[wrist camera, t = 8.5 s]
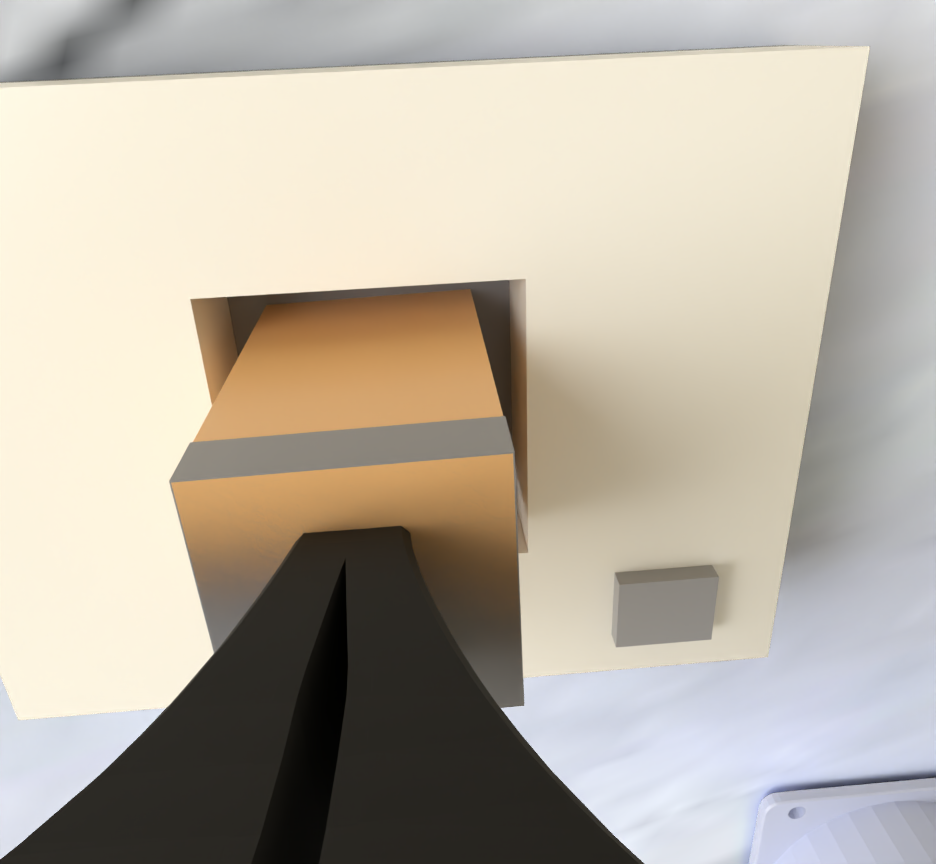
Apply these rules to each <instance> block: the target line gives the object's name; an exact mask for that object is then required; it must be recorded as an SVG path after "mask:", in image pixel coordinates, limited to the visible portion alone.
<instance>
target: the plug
mask: <svg viewBox="0 0 936 864" xmlns="http://www.w3.org/2000/svg"><path fill="white" fill-rule="evenodd" d="M169 483H170V487H171V491H172V495H173V499H174V503H175V506H176V510H177V514H178V518H179V522H180V525H181V529H182V533H183V537H184V541H185V545H186V548H187V552H188V556H189V560H190V564H191V567H192V571H193V575H194V579H195V583H196V587H197V590H198V594H199V598H200V602H201V606H202V609H203V613H204V617H205V621H206V625H207V629H208V632H209V636H210V640H211V644H212V648H213V651H214V653H215V652H216V650H217V649H218V648H219V647H220V646H221V644H222V643H223V642H224V641H225V639H226V638H227V637H228V635H229V634H230V633H231V631H232V630H233V629H234V628H235V626H236V625H237V624H238V622H239V621H240V620H241V618H242V617H243V616H244V614H245V613H246V612H247V610H248V609H249V608H250V607H251V605H252V604H253V603H254V601H255V600H256V599H257V597H258V596H259V594H260V593H261V592H262V590H263V589H264V587H265V586H266V585H267V583H268V582H269V580H270V579H271V577H272V576H273V575H274V573H275V572H276V570H277V569H278V567H279V566H280V564H281V563H282V561H283V560H284V558H285V557H286V555H287V554H288V552H289V551H290V549H291V548H292V546H293V545H294V543H295V542H296V541H297V540H298V539H299V538H300V536H301V535H302V534H303V533H312V532H326V531H339V530H353V529H366V528H378V527H390V526H402V527H404V528H405V529H406V530H407V531H409V532H410V533H411V542H412V546H413V551H414V554H415V557H416V560H417V563H418V566H419V569H420V571H421V573H422V576H423V578H424V581H425V583H426V586H427V588H428V590H429V592H430V594H431V596H432V598H433V600H434V602H435V604H436V606H437V608H438V610H439V612H440V614H441V615H442V617H443V619H444V621H445V623H446V625H447V627H448V629H449V631H450V632H451V634H452V636H453V637H454V639H455V641H456V643H457V644H458V646H459V648H460V649H461V651H462V652H463V654H464V656H465V657H466V659H467V660H468V662H469V663H470V665H471V666H472V668H473V670H474V671H475V673H476V674H477V676H478V677H479V679H480V680H481V682H482V683H483V685H484V686H485V687H486V689H487V690H488V692H489V693H490V695H491V696H492V697H493V699H494V700H495V702H496V703H497V704H498V706H499V707H500V708H504V707H514V706H524V688H523V661H522V634H521V607H520V581H519V554H518V527H517V500H516V474H515V451H514V447H513V444H512V440H511V436H510V432H509V428H508V425H507V421H506V417H505V416H503V413H502V409H501V405H500V401H499V397H498V394H497V390H496V386H495V382H494V378H493V374H492V370H491V367H490V363H489V359H488V355H487V351H486V347H485V344H484V340H483V336H482V332H481V328H480V324H479V320H478V317H477V313H476V309H475V305H474V301H473V297H472V293H471V290H470V289H464V290H451V291H439V292H426V293H413V294H400V295H388V296H375V297H362V298H349V299H337V300H324V301H311V302H298V303H286V304H273V305H266V307H265V308H264V310H263V312H262V314H261V316H260V318H259V320H258V322H257V323H256V325H255V327H254V329H253V331H252V333H251V335H250V336H249V338H248V340H247V342H246V344H245V346H244V348H243V349H242V351H241V353H240V355H239V357H238V359H237V361H236V363H235V364H234V366H233V368H232V370H231V372H230V374H229V376H228V377H227V379H226V381H225V383H224V385H223V387H222V389H221V390H220V392H219V394H218V396H217V398H216V400H215V402H214V404H213V405H212V407H211V409H210V411H209V413H208V415H207V417H206V418H205V420H204V422H203V424H202V426H201V428H200V430H199V431H198V433H197V435H196V437H195V439H194V441H193V442H190V443H189V445H188V447H187V449H186V451H185V453H184V454H183V456H182V458H181V460H180V462H179V464H178V466H177V467H176V469H175V471H174V473H173V475H172V477H171V478H170V480H169Z"/></svg>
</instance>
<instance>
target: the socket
mask: <svg viewBox="0 0 936 864" xmlns="http://www.w3.org/2000/svg"><path fill="white" fill-rule="evenodd" d="M869 50H870V46H802V45H779V46H758V47H737V48H716V49H694V50H673V51H652V52H631V53H610V54H589V55H567V56H546V57H525V58H504V59H483V60H461V61H440V62H419V63H398V64H377V65H356V66H334V67H313V68H292V69H271V70H250V71H229V72H207V73H186V74H165V75H144V76H123V77H101V78H80V79H59V80H38V81H17V82H0V676H1V678H2V681H3V683H4V686H5V688H6V691H7V693H8V696H9V698H10V701H11V703H12V706H13V708H14V711H15V713H16V716H17V718H18V720H28V719H40V718H52V717H63V716H75V715H87V714H99V713H111V712H123V711H135V710H147V709H158V708H167V707H168V706H169V705H170V704H171V703H172V701H173V700H174V699H175V698H176V697H177V696H178V695H179V694H180V693H181V691H182V690H183V689H184V688H185V687H186V685H187V684H188V683H189V682H190V681H191V680H192V678H193V677H194V676H195V675H196V674H197V673H198V671H199V670H200V669H201V668H202V667H203V666H204V664H205V663H206V662H207V661H208V660H209V659H210V657H211V656H212V655H213V654H214V651H213V648H212V644H211V640H210V636H209V632H208V629H207V625H206V621H205V617H204V613H203V609H202V606H201V602H200V598H199V594H198V590H197V587H196V583H195V579H194V575H193V571H192V567H191V564H190V560H189V556H188V552H187V548H186V545H185V541H184V537H183V533H182V529H181V525H180V522H179V518H178V514H177V510H176V506H175V503H174V499H173V495H172V491H171V487H170V483H169V480H170V478H171V477H172V475H173V473H174V471H175V469H176V467H177V466H178V464H179V462H180V460H181V458H182V456H183V454H184V453H185V451H186V449H187V447H188V445H189V443H190V442H193V441H194V439H195V437H196V435H197V433H198V431H199V430H200V428H201V426H202V424H203V422H204V420H205V418H206V417H207V415H208V413H209V411H210V409H211V407H212V405H213V404H214V402H215V400H216V398H217V396H218V394H219V392H220V390H221V389H222V387H223V385H224V383H225V381H226V379H227V377H228V376H229V374H230V372H231V370H232V368H233V366H234V364H235V363H236V361H237V359H238V357H239V355H240V353H241V351H242V349H243V348H244V346H245V344H246V342H247V340H248V338H249V336H250V335H251V333H252V331H253V329H254V327H255V325H256V323H257V322H258V320H259V318H260V316H261V314H262V312H263V310H264V308H265V307H266V305H273V304H286V303H298V302H311V301H324V300H337V299H349V298H362V297H375V296H388V295H400V294H413V293H426V292H439V291H451V290H464V289H470V290H471V293H472V297H473V301H474V305H475V309H476V313H477V317H478V320H479V324H480V328H481V332H482V336H483V340H484V344H485V347H486V351H487V355H488V359H489V363H490V367H491V370H492V374H493V378H494V382H495V386H496V390H497V394H498V397H499V401H500V405H501V409H502V413H503V416H505V417H506V421H507V425H508V428H509V432H510V436H511V440H512V444H513V447H514V451H515V474H516V500H517V527H518V554H519V581H520V607H521V634H522V661H523V678H526V677H538V676H550V675H562V674H574V673H586V672H598V671H609V670H621V669H633V668H645V667H657V666H669V665H681V664H692V663H704V662H716V661H728V660H740V659H752V658H764V657H768V654H769V648H770V642H771V636H772V630H773V624H774V618H775V612H776V606H777V600H778V594H779V588H780V582H781V576H782V570H783V564H784V558H785V552H786V546H787V540H788V534H789V528H790V522H791V516H792V510H793V504H794V499H795V493H796V487H797V481H798V475H799V469H800V463H801V457H802V451H803V445H804V439H805V433H806V427H807V421H808V415H809V409H810V403H811V397H812V391H813V385H814V379H815V373H816V367H817V361H818V355H819V349H820V343H821V337H822V331H823V325H824V319H825V313H826V307H827V301H828V295H829V289H830V283H831V277H832V271H833V265H834V259H835V253H836V247H837V241H838V235H839V230H840V224H841V218H842V212H843V206H844V200H845V194H846V188H847V182H848V176H849V170H850V164H851V158H852V152H853V146H854V140H855V134H856V128H857V122H858V116H859V110H860V104H861V98H862V92H863V86H864V80H865V74H866V68H867V62H868V56H869Z"/></svg>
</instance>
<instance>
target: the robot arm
mask: <svg viewBox="0 0 936 864" xmlns="http://www.w3.org/2000/svg"><path fill="white" fill-rule="evenodd" d="M0 864H644V863H643V862H642V861H641V860H640V859H639V858H637V857H636V856H635V855H634V854H633V853H632V852H631V851H630V850H629V849H628V848H627V847H626V846H625V845H623V844H622V843H621V842H620V841H619V840H618V839H617V838H616V837H615V836H614V835H613V834H612V833H611V832H610V831H609V830H608V829H607V828H606V827H605V826H604V825H603V824H602V823H601V822H600V821H599V820H598V819H597V818H596V817H595V816H594V814H593V813H592V812H591V811H590V810H589V809H588V808H587V807H586V806H585V805H584V804H583V803H582V802H581V801H580V800H579V799H578V798H577V797H576V796H575V795H574V794H573V793H572V792H571V791H570V790H569V789H568V787H567V786H566V785H565V784H564V783H563V782H562V781H561V780H560V779H559V778H558V777H557V776H556V775H555V774H554V773H553V772H552V771H551V770H550V768H549V767H548V766H547V765H546V764H545V763H544V761H543V760H542V759H541V758H540V757H539V756H538V754H537V753H536V752H535V751H534V750H533V748H532V747H531V746H530V745H529V744H528V742H527V741H526V740H525V739H524V738H523V737H522V735H521V734H520V733H519V732H518V730H517V729H516V728H515V726H514V725H513V724H512V723H511V721H510V720H509V719H508V717H507V716H506V715H505V714H504V712H503V711H502V710H501V708H500V707H499V706H498V704H497V703H496V702H495V700H494V699H493V697H492V696H491V695H490V693H489V692H488V690H487V689H486V687H485V686H484V685H483V683H482V682H481V680H480V679H479V677H478V676H477V674H476V673H475V671H474V670H473V668H472V666H471V665H470V663H469V662H468V660H467V659H466V657H465V656H464V654H463V652H462V651H461V649H460V648H459V646H458V644H457V643H456V641H455V639H454V637H453V636H452V634H451V632H450V631H449V629H448V627H447V625H446V623H445V621H444V619H443V617H442V615H441V614H440V612H439V610H438V608H437V606H436V604H435V602H434V600H433V598H432V596H431V594H430V592H429V590H428V588H427V586H426V583H425V581H424V578H423V576H422V573H421V571H420V569H419V566H418V563H417V560H416V557H415V554H414V551H413V546H412V542H411V533H410V532H409V531H407V530H406V529H405V528H404V527H402V526H390V527H378V528H366V529H353V530H339V531H326V532H312V533H303V534H302V535H301V536H300V538H299V539H298V540H297V541H296V542H295V543H294V545H293V546H292V548H291V549H290V551H289V552H288V554H287V555H286V557H285V558H284V560H283V561H282V563H281V564H280V566H279V567H278V569H277V570H276V572H275V573H274V575H273V576H272V577H271V579H270V580H269V582H268V583H267V585H266V586H265V587H264V589H263V590H262V592H261V593H260V594H259V596H258V597H257V599H256V600H255V601H254V603H253V604H252V605H251V607H250V608H249V609H248V610H247V612H246V613H245V614H244V616H243V617H242V618H241V620H240V621H239V622H238V624H237V625H236V626H235V628H234V629H233V630H232V631H231V633H230V634H229V635H228V637H227V638H226V639H225V641H224V642H223V643H222V644H221V646H220V647H219V648H218V649H217V650H216V652H215V653H214V654H213V655H212V656H211V657H210V659H209V660H208V661H207V662H206V663H205V664H204V666H203V667H202V668H201V669H200V670H199V671H198V673H197V674H196V675H195V676H194V677H193V678H192V680H191V681H190V682H189V683H188V684H187V685H186V687H185V688H184V689H183V690H182V691H181V693H180V694H179V695H178V696H177V697H176V698H175V699H174V700H173V701H172V703H171V704H170V705H169V706H168V707H167V708H166V709H165V710H164V711H163V712H162V713H161V714H160V715H159V717H158V718H157V719H156V720H155V721H154V722H153V723H152V724H151V725H150V726H149V727H148V728H147V729H146V730H145V731H144V732H143V733H142V734H141V735H140V736H139V737H138V738H137V739H136V740H135V741H134V742H133V743H132V744H131V745H130V746H129V747H128V748H127V749H126V750H125V751H124V752H123V753H122V754H121V755H120V756H119V757H118V758H117V759H116V760H115V761H114V762H113V763H112V764H111V765H110V766H109V767H108V768H107V769H106V770H105V771H103V772H102V773H101V774H100V775H99V776H98V777H97V778H96V779H95V780H94V781H92V782H91V783H90V784H89V785H88V786H87V787H85V788H84V789H83V790H82V791H81V792H80V793H78V794H77V795H76V796H75V797H74V798H73V799H71V800H70V801H69V802H68V803H67V804H66V805H65V806H63V807H62V808H61V809H60V810H59V811H58V812H56V813H55V814H54V815H53V816H52V817H51V818H49V819H48V820H47V821H46V822H45V823H44V824H42V825H41V826H40V827H39V828H38V829H37V830H35V831H34V832H33V833H32V834H31V835H30V836H28V837H27V838H26V839H25V840H24V841H23V842H21V843H20V844H19V845H18V846H17V847H15V848H14V849H13V850H12V851H10V852H9V853H8V854H7V855H6V856H4V857H3V858H2V859H0ZM749 864H936V778H926V779H916V780H905V781H894V782H883V783H872V784H862V785H851V786H840V787H829V788H818V789H808V790H797V791H786V792H776V793H772V794H769V795H767V796H766V797H765V798H763V799H762V801H761V803H760V805H759V809H758V814H757V820H756V826H755V831H754V837H753V842H752V848H751V853H750V859H749Z"/></svg>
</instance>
